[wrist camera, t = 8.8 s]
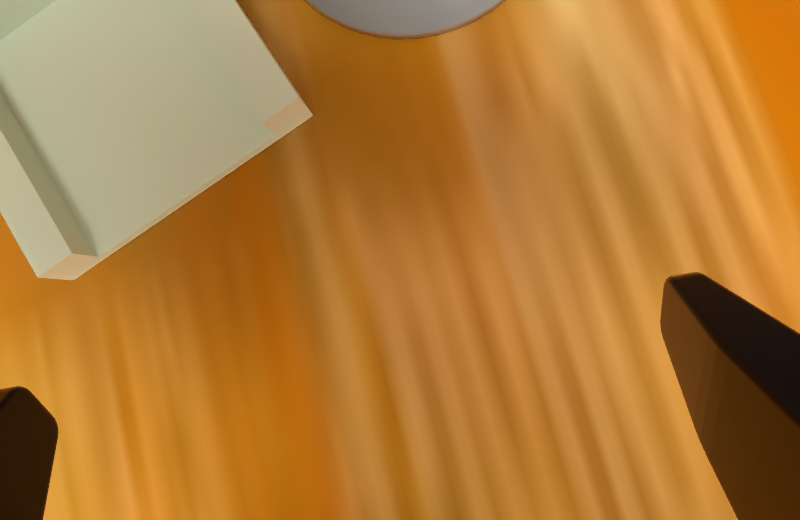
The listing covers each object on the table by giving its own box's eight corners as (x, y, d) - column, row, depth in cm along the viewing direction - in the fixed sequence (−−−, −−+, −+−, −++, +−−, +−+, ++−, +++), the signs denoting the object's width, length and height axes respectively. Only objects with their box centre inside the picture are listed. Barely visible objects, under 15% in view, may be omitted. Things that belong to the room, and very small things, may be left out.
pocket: (313, 115, 23) (298, 97, 21) (73, 280, 23) (37, 277, 21) (165, -108, 24) (138, -145, 22) (-58, 52, 25) (-104, 29, 23)
